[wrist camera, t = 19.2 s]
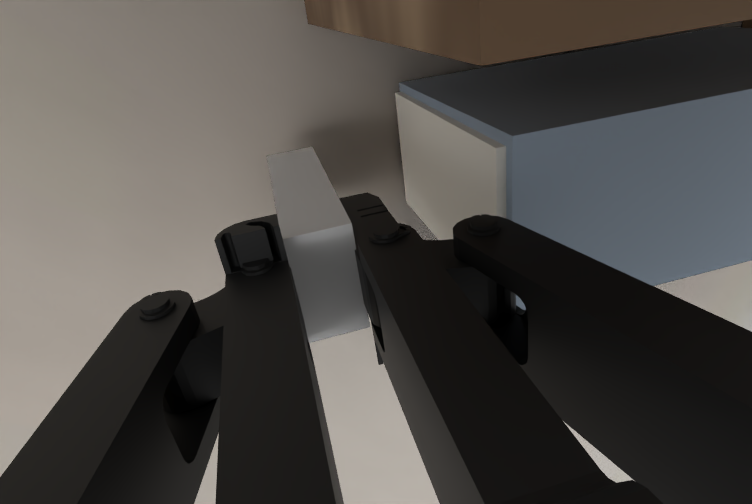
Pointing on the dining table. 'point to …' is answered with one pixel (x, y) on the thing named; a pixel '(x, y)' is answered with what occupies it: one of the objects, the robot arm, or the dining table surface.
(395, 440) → the dining table surface
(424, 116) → the boxed book
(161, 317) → the robot arm
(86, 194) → the dining table surface
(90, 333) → the dining table surface
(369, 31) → the shelf
